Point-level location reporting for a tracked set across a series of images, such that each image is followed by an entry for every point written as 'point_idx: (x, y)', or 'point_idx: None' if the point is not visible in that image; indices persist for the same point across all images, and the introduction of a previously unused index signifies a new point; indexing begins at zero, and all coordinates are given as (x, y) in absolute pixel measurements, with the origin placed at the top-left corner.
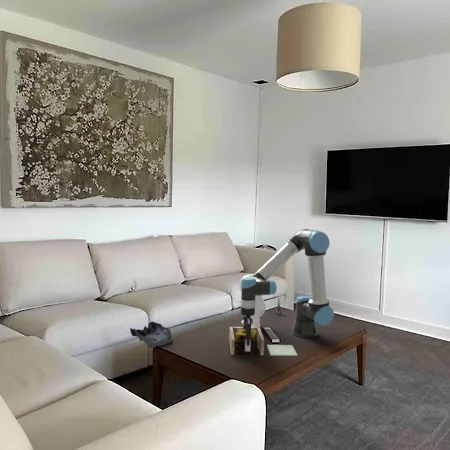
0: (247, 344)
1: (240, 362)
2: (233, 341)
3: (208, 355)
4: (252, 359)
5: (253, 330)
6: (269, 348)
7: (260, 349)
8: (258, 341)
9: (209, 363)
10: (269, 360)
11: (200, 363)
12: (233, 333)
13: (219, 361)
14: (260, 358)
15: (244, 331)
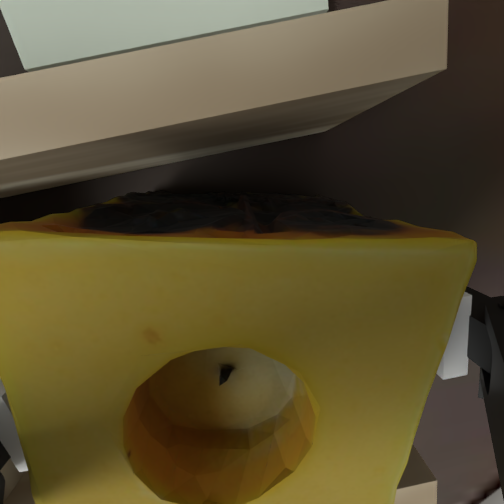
0: None
1: (485, 285)
2: (420, 464)
3: None
4: (428, 202)
5: (21, 317)
6: (139, 29)
7: (288, 134)
8: (75, 174)
9: (492, 444)
10: (448, 29)
11: (490, 479)
12: (7, 478)
13: (465, 406)
14: (403, 130)
15: (148, 464)
